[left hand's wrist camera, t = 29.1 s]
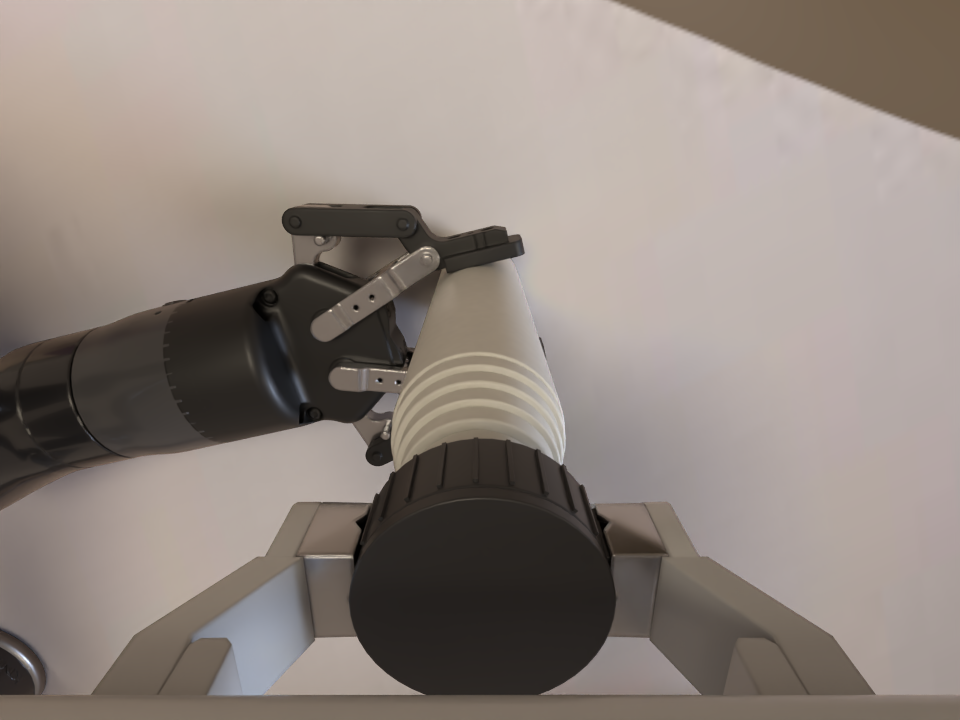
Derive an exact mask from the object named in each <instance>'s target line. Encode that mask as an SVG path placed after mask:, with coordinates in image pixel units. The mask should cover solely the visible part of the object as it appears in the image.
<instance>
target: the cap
mask: <svg viewBox="0 0 960 720" xmlns="http://www.w3.org/2000/svg"><path fill="white" fill-rule="evenodd" d="M602 536H603V533H602V530H601V527H600V524H599V521H597V518H596V515H595V512H594V509H591V506H590V503H589V500H588V497H587V494H586V491H585V487H584V486H583V485H579V484H578V482H577V481H576V480H575V479H574V477H573V476H572V475H571V474H570V473H569V472H568V471H567V469H566V466H565V465H564V464H562V465H560V464H559V463H557V462H556V461H554V460H553V459H552V458H550V457H549V456H547V455H545V454H543V453H541V450H539V449H536V450H535V449H533V448H530V447H528V446H525V445H522V444H519V443H515V442H511V440H508V439H506V440H498V439H486V438H485V439H483V438H478V437H474V439H466V440H459V441H454V442H450V443H446V442H444V443H442V445H440V446H437V447H434V448H431V449H429V450H427V451H425V452H423V453H421V454H419V455H417V454H415V455H414V456H413V459H411V460H410V461H408V462H407V463H405V464H404V465H403V466H402V467H401V468H400V469H399V470H397V471H396V472H392V473H391V474H390V477H389V480H388V481H387V482H386V484H385V485H384V487H383V489H382V490H381V492H380V493H379V494H376V495H375V497H374V500H373V503H372V506H371V510H370V513H369V516H368V519H367V522H366V526H365V529H364V532H363V534H362V538H361V542H360V545H362V546H361V550H360V553H359V556H358V560H357V563H356V566H355V569H354V573H353V576H352V580H351V584H350V591H349V609H350V616H351V620H352V624H353V628H354V630H355V632H356V635H357V637H358V639H359V641H360V643H361V644H362V646H363V648H364V649H365V651H366V652H367V654H368V655H369V656H370V657H371V658H372V659H373V661H374V662H375V663H376V664H377V665H378V666H379V667H380V668H382V669H383V670H384V671H385V672H386V673H387V674H389V675H390V676H391V677H393V678H394V679H396V680H397V681H399V682H400V683H402V684H404V685H406V686H408V687H409V688H411V689H413V690H416V691H418V692H421V693H423V694H425V695H539V694H541V693H544V692H546V691H549V690H551V689H553V688H555V687H557V686H559V685H561V684H563V683H564V682H566V681H567V680H569V679H570V678H572V677H573V676H575V675H576V674H577V673H578V672H580V671H581V670H582V669H583V668H584V667H585V666H587V665H588V663H589V662H590V661H591V660H592V659H593V658H594V657H595V656H596V655H597V653H598V652H599V650H600V649H601V647H602V646H603V644H604V643H605V641H606V638H607V636H608V634H609V632H610V630H611V626H612V623H613V620H614V615H615V608H616V590H615V585H614V580H613V576H612V572H611V569H610V566H609V564H608V561H609V555H608V552H607V549H606V546H605V543H604V540H603V537H602Z"/></svg>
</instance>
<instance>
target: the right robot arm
mask: <svg viewBox="0 0 960 720" xmlns="http://www.w3.org/2000/svg"><path fill="white" fill-rule="evenodd" d="M282 224H283V227H284V228H285V230H286V231H287V232H288V233H290V234H292V242H293V252H294V262H295V265H294V266H292V267H291V268H289V269H288V270H287V271H286V273H285V274H284V275H283V276H281V277H279V278H277V279H273V280H269V281H265V282H261V283H257V284H253V285H248V286H244V287H240V288H236V289H232V290H228V291H224V292H220V293H216V294H211V295H207V296H203V297H199V298H195V299H191V300H179V301H173V302H169V303H166V304H165V305H163V306H162V307H158V308H154V309H150V310H147V311H143V312H140V313H136V314H133V315H131V316H128V317H126V318H123V319H121V320H119V321H116V322H114V323H111V324H108V325H105V326H102V327H97V328H93V329H89V330H85V331H81V332H77V333H72V334H68V335H64V336H60V337H56V338H53V339H48V340H44V341H40V342H36V343H33V344H29V345H26V346H23V347H21V348H18V349H15V350H13V351H11V352H10V353H8V354H7V355H5V356H3V357H2V358H0V511H1V510H3V509H4V508H6V507H8V506H10V505H12V504H13V503H15V502H17V501H19V500H20V499H22V498H24V497H25V496H27V495H29V494H30V493H32V492H34V491H36V490H38V489H40V488H41V487H43V486H45V485H47V484H49V483H51V482H53V481H55V480H57V479H59V478H61V477H64V476H66V475H68V474H70V473H72V472H75V471H78V470H82V469H86V468H91V467H95V466H100V465H105V464H109V463H114V462H118V461H123V460H127V459H132V458H136V457H141V456H147V455H158V454H172V453H180V452H186V451H191V450H195V449H200V448H204V447H209V446H214V445H218V444H223V443H228V442H232V441H237V440H242V439H246V438H250V437H255V436H260V435H264V434H269V433H273V432H278V431H283V430H287V429H292V428H297V427H301V426H305V425H308V424H311V423H314V422H317V421H321V420H333V421H338V422H342V423H353V425H354V426H355V428H356V429H357V431H358V432H359V434H360V435H361V436H362V438H363V439H364V441H365V442H366V444H367V445H368V449H367V452H366V459H367V461H368V462H369V463H370V464H371V465H374V466H382V465H384V464H386V463H388V462H391V461H393V455H392V449H391V431H392V419H393V413H394V412H385V413H376V412H374V411H372V410H371V409H372V408H373V407H374V405H375V404H376V403H377V402H378V401H379V400H380V399H381V397H382V396H383V395H384V394H385V393H386V392H388V393H399V394H400V391H401V389H402V386H403V383H404V380H405V377H406V374H407V371H408V368H409V365H410V362H411V359H412V356H413V353H414V350H415V348H411V347H407V346H406V342H405V339H404V336H403V335H402V333H401V332H400V330H399V328H398V327H397V325H396V317H395V306H394V303H393V299H394V298H395V297H397V296H398V295H400V294H401V293H402V292H403V291H404V290H406V289H407V288H409V287H410V286H412V285H413V284H415V283H416V282H418V281H419V280H421V279H422V278H424V277H425V276H427V275H429V274H430V273H432V272H433V271H436V270H440V269H444V268H446V272H447V273H451V272H455V271H459V270H463V269H466V268H471V267H476V266H480V265H484V264H488V263H493V262H497V261H501V260H505V259H509V258H514V257H517V256H521V255H523V254H524V253H525V252H524V247H523V243H522V238H521V236H520V235H519V234H517V235H511V236H508V235H507V231H506V228H505V227H501V226H490V227H486V228H483V229H478V230H474V231H470V232H466V233H462V234H457V235H453V236H449V237H438V236H436V235H434V234H433V233H432V232H431V231H430V230H429V228H428V227H427V225H426V224H425V223H424V221H423V220H422V216H421V213H420V211H419V210H418V209H417V208H416V207H414V206H409V205H361V204H313V203H310V204H305V205H300V206H296V207H293V208H290V209H288V210H286V211H285V212H284V214H283V216H282ZM341 236H342V237H391V238H399V240H400V241H401V243H402V244H403V245H404V247H405V248H406V250H407V251H408V252H407V253H405V254H404V255H402V256H401V257H399V258H398V259H396V260H394V261H392V262H391V263H389V264H388V265H386V266H385V267H383V268H382V269H380V270H379V271H377V272H376V273H374V274H373V275H371V276H370V277H368V278H367V279H363V278H361V277H358V276H356V275H353V274H350V273H348V272H345V271H343V270H340V269H338V268H335V267H333V266H330V265H328V264H325V263H323V262H320V261H319V258H320V255H321V253H322V252H324V251H329V250H331V249H333V248H334V247H336V246H337V245H338V244H339V243H340V241H341ZM539 340H540V343H541V346H542V349H543V352H544V355H545V351H544V346H543V343H542V340H541V338H540V337H539ZM545 358H546V355H545ZM407 359H408V360H407ZM45 684H46V675H45V671H44V668H43V666H42V664H41V662H40V660H39V659H38V657H37V656H36V655H35V654H34V653H33V651H32V650H31V649H30V648H28V647H27V646H26V645H25V644H24V643H22V642H21V641H19V640H18V639H16V638H15V637H13V636H11V635H9V634H7V633H5V632H3V631H0V695H41V694H42V692H43V690H44V688H45Z"/></svg>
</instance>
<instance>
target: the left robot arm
mask: <svg viewBox="0 0 960 720" xmlns="http://www.w3.org/2000/svg"><path fill="white" fill-rule="evenodd" d="M371 506H372V503H342V502H323V503H321V502H297V503H296V504H294V505H293V506H292V508H291V510H290V512H289V513H288V515H287V517H286V519H285V521H284V523H283V524H282V526H281V528H280V530H279V532H278V534H277V535H276V537H275V539H274V541H273V543H272V545H271V546H270V548H269V550H268V552H267V554H266V556H265V557H256V558H255V559H253V560H252V561H250V562H248V563H247V564H245V565H244V566H242V567H241V568H239V569H237V570H236V571H234V572H233V573H231V574H230V575H228V576H226V577H225V578H223V579H222V580H220V581H219V582H217V583H215V584H214V585H212V586H211V587H209V588H208V589H206V590H205V591H203V592H201V593H200V594H198V595H197V596H195V597H194V598H192V599H190V600H189V601H187V602H186V603H184V604H183V605H181V606H179V607H178V608H176V609H175V610H173V611H172V612H170V613H168V614H167V615H165V616H164V617H162V618H161V619H159V620H158V621H156V622H154V623H153V624H151V625H150V626H148V627H147V628H145V629H143V630H142V631H140V632H139V633H137V634H136V635H134V636H133V638H132V639H131V641H130V642H129V643H128V645H127V646H126V647H125V649H124V650H123V651H122V653H121V654H120V656H119V657H118V658H117V660H116V661H115V662H114V664H113V665H112V667H111V668H110V669H109V671H108V672H107V673H106V675H105V676H104V678H103V679H102V680H101V682H100V683H99V684H98V686H97V687H96V688H95V690H94V691H93V693H92V694H91V695H0V720H960V695H876V694H875V693H874V692H873V690H872V689H871V688H870V686H869V685H868V683H867V682H866V681H865V679H864V678H863V677H862V675H861V674H860V673H859V671H858V670H857V669H856V667H855V666H854V664H853V663H852V662H851V660H850V659H849V658H848V656H847V655H846V654H845V652H844V651H843V650H842V648H841V647H840V645H839V644H838V643H837V641H836V640H835V639H834V637H833V636H832V635H830V634H828V633H827V632H825V631H824V630H822V629H821V628H819V627H817V626H816V625H814V624H813V623H811V622H810V621H808V620H806V619H805V618H803V617H802V616H800V615H798V614H797V613H795V612H794V611H792V610H791V609H789V608H787V607H786V606H784V605H783V604H781V603H780V602H778V601H776V600H775V599H773V598H772V597H770V596H769V595H767V594H765V593H764V592H762V591H761V590H759V589H758V588H756V587H754V586H753V585H751V584H750V583H748V582H747V581H745V580H743V579H742V578H740V577H739V576H737V575H735V574H734V573H732V572H731V571H729V570H728V569H726V568H724V567H723V566H721V565H720V564H718V563H717V562H715V561H713V560H712V559H710V558H709V557H700V556H699V554H698V552H697V551H696V549H695V547H694V545H693V543H692V542H691V540H690V538H689V536H688V535H687V533H686V531H685V529H684V527H683V526H682V524H681V522H680V520H679V519H678V517H677V515H676V513H675V511H674V510H673V508H672V506H671V504H669V503H668V502H642V503H610V504H591V509H594V512H595V515H596V518H597V521H599V524H600V527H601V530H602V533H603V536H602V537H603V540H604V543H605V546H606V549H607V552H608V555H609V561H608V564H609V566H610V569H611V572H612V576H613V580H614V585H615V590H616V608H615V615H614V620H613V623H612V626H611V630H610V632H609V634H608V636H609V637H644V638H650V641H651V642H652V643H653V644H654V645H655V646H656V647H657V648H658V649H659V650H660V651H661V652H662V653H663V654H664V655H665V657H666V658H667V659H668V660H669V661H670V662H671V663H672V664H673V665H674V666H675V667H676V668H677V669H678V670H679V671H680V672H681V673H682V674H683V675H684V676H685V677H686V679H687V680H688V681H689V682H690V683H691V684H692V685H693V686H694V687H695V688H696V689H697V690H698V691H699V692H700V693H701V694H702V695H263V694H264V693H265V692H266V691H267V690H268V689H269V688H270V687H271V686H272V685H273V684H274V683H275V682H276V681H277V680H278V679H279V678H280V677H281V676H282V674H283V673H284V672H285V671H286V670H287V669H288V668H289V667H290V666H291V665H292V664H293V663H294V662H295V661H296V660H297V659H298V658H299V657H300V656H301V654H302V653H303V652H304V651H305V650H306V649H307V648H308V647H309V646H310V645H311V644H312V643H313V642H314V641H315V638H320V637H354V636H357V635H356V632H355V630H354V628H353V624H352V620H351V616H350V609H349V591H350V584H351V580H352V576H353V573H354V569H355V566H356V563H357V560H358V556H359V553H360V550H361V546H362V545H360V542H361V538H362V534H363V532H364V529H365V526H366V522H367V519H368V516H369V513H370V510H371Z"/></svg>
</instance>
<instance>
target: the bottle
mask: <svg viewBox="0 0 960 720" xmlns="http://www.w3.org/2000/svg"><path fill="white" fill-rule="evenodd" d="M474 437H478V438H483V439H485V438H486V439H498V440H506V439H508V440H511V442H515V443H519V444H522V445H525V446H528V447H530V448H533V449H535V450H536V449H539V450H541V453H543V454H545V455H547V456H549V457H550V458H552V459H553V460H554V461H556V462H557V463H559V464H560V465H562V464H563V457H564V452H565V440H566V436H565V422H564V415H563V411H562V408H561V404H560V401H559V398H558V395H557V392H556V389H555V386H554V383H553V380H552V377H551V374H550V370H549V367H548V364H547V361H546V358H545V355H544V352H543V349H542V346H541V343H540V340H539V337H538V334H537V331H536V328H535V325H534V321H533V318H532V315H531V312H530V309H529V306H528V303H527V300H526V297H525V294H524V291H523V288H522V285H521V282H520V279H519V276H518V272H517V269H516V267H515V265H514V263H513V262H512V260H511V259H510V258H509V259H505V260H501V261H497V262H493V263H488V264H484V265H480V266H476V267H471V268H466V269H463V270H459V271H455V272H451V273H447V272H446V268H444V269H442V271H441V274H440V277H439V280H438V283H437V286H436V289H435V291H434V294H433V297H432V300H431V303H430V306H429V309H428V312H427V315H426V318H425V321H424V324H423V327H422V330H421V333H420V336H419V339H418V341H417V344H416V347H415V350H414V353H413V356H412V359H411V362H410V365H409V368H408V371H407V374H406V377H405V380H404V383H403V386H402V389H401V391H400V394H399V397H398V400H397V403H396V406H395V409H394V413H393V419H392V431H391V449H392V455H393V462H394V468H395V472H396V471H397V470H399V469H400V468H401V467H402V466H403V465H404V464H405V463H407V462H408V461H410V460H411V459H413V456H414V455H415V454H417V455H419V454H421V453H423V452H425V451H427V450H429V449H431V448H434V447H437V446H440V445H442V443H444V442H446V443H450V442H454V441H459V440H466V439H474Z"/></svg>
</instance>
